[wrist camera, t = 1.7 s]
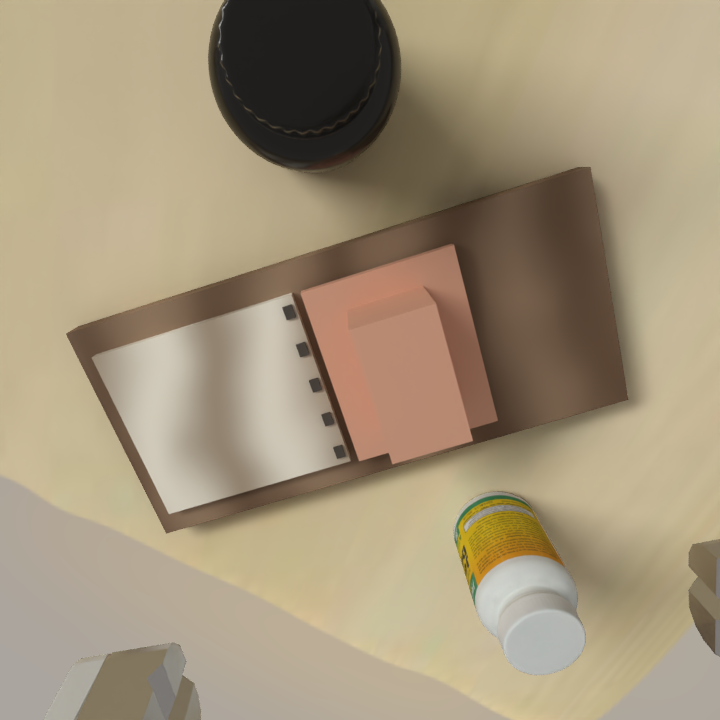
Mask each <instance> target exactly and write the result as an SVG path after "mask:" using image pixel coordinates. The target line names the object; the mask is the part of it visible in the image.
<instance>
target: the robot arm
mask: <svg viewBox="0 0 720 720" xmlns="http://www.w3.org/2000/svg"><path fill="white" fill-rule="evenodd" d="M689 567H690V568H691V569H692V570H693V571H694V573H695V574H696V575H697V576H698V577H697V579H696V580H695V581H694V583H693V584H692V586H691V587H690V589H689V608H690V611H691V614H692V617H693V619H694V622H695V625H696V627H697V629H698V631H699V632H700V634H701V636H702V638H703V639H704V641H705V642H706V643H707V645H708V646H709V647H710V648H711V650H712V651H713V652H714V653H715V654H716V655H718V656H720V539H717V540H712V541H707V542H702V543H697V544H693V545H692V547H691V549H690V551H689ZM185 664H186V659H185V656H184V654H183V651H182V649H181V646H180V645H179V644H176V643H168V644H162V645H156V646H150V647H144V648H137V649H131V650H126V651H119V652H113V653H112V654H105V655H99V656H93V657H87V658H81V659H80V660H79V661H77V662H76V663H75V664H74V665H73V666H72V667H71V669H70V671H69V673H68V675H67V677H66V678H65V680H64V682H63V684H62V686H61V687H60V689H59V691H58V693H57V695H56V697H55V699H54V701H53V702H52V704H51V706H50V708H49V710H48V711H47V714H46V715H45V717H44V719H43V720H201V709H200V702H199V696H198V693H197V690H196V687H195V684H194V683H193V682H192V681H190V680H189V679H187V678H186V677H184V676H183V671H184V668H185Z"/></svg>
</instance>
